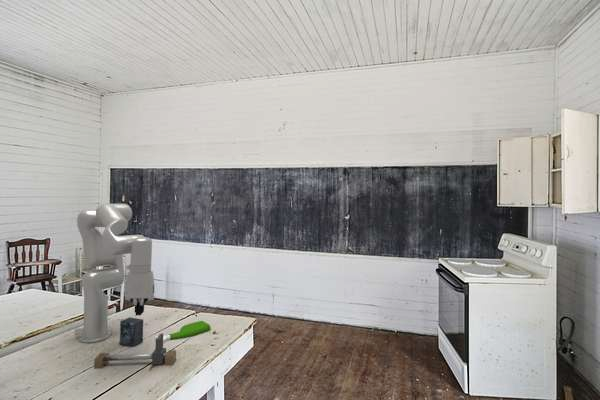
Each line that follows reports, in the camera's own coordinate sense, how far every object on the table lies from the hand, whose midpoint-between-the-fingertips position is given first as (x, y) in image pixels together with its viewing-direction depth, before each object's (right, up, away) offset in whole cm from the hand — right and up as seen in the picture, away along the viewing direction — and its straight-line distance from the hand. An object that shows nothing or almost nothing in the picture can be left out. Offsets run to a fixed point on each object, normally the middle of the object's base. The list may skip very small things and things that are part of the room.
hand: (139, 314), depth 128 cm
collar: (+8, -20, 0) cm, 21 cm away
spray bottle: (+8, -20, +28) cm, 36 cm away
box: (-12, -20, +17) cm, 29 cm away
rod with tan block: (-1, -19, -1) cm, 19 cm away
